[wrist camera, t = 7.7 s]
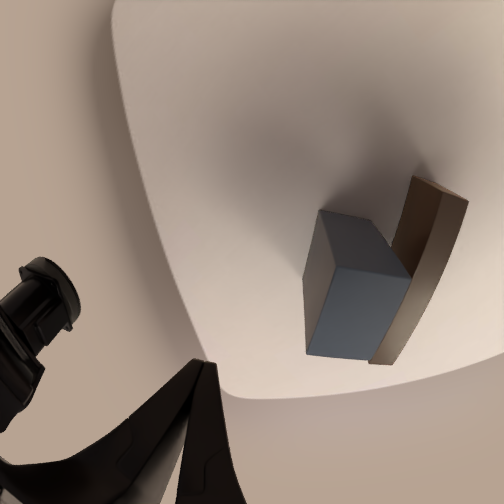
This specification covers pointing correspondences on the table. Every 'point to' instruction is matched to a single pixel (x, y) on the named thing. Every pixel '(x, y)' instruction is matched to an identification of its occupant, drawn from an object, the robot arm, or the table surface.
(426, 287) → the walnut rail
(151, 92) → the table surface
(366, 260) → the slate block
